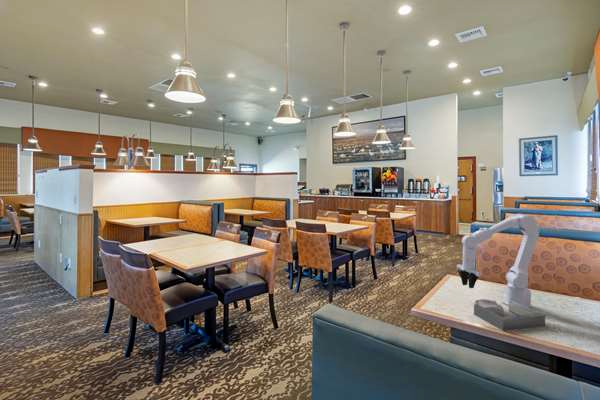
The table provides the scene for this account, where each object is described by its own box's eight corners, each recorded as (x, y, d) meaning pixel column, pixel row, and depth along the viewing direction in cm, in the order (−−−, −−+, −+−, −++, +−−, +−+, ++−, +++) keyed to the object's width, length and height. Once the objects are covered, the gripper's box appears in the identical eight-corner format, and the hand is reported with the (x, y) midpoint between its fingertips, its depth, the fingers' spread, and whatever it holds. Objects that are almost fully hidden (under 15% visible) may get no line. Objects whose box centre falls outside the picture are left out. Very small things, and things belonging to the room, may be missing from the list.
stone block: (482, 319, 138) (506, 316, 136) (480, 308, 138) (504, 305, 136) (472, 309, 149) (495, 306, 147) (470, 299, 149) (493, 297, 147)
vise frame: (512, 310, 142) (512, 301, 142) (544, 325, 127) (545, 315, 127) (473, 314, 138) (474, 304, 138) (502, 330, 123) (503, 319, 123)
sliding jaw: (512, 310, 142) (512, 301, 142) (539, 322, 129) (539, 312, 129) (508, 310, 142) (508, 301, 141) (534, 323, 129) (535, 313, 129)
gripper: (451, 256, 159) (451, 282, 159) (472, 263, 144) (471, 292, 145) (463, 255, 160) (463, 281, 161) (485, 263, 146) (484, 291, 147)
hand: (468, 286), depth 153 cm, fingers open, 4 cm apart
